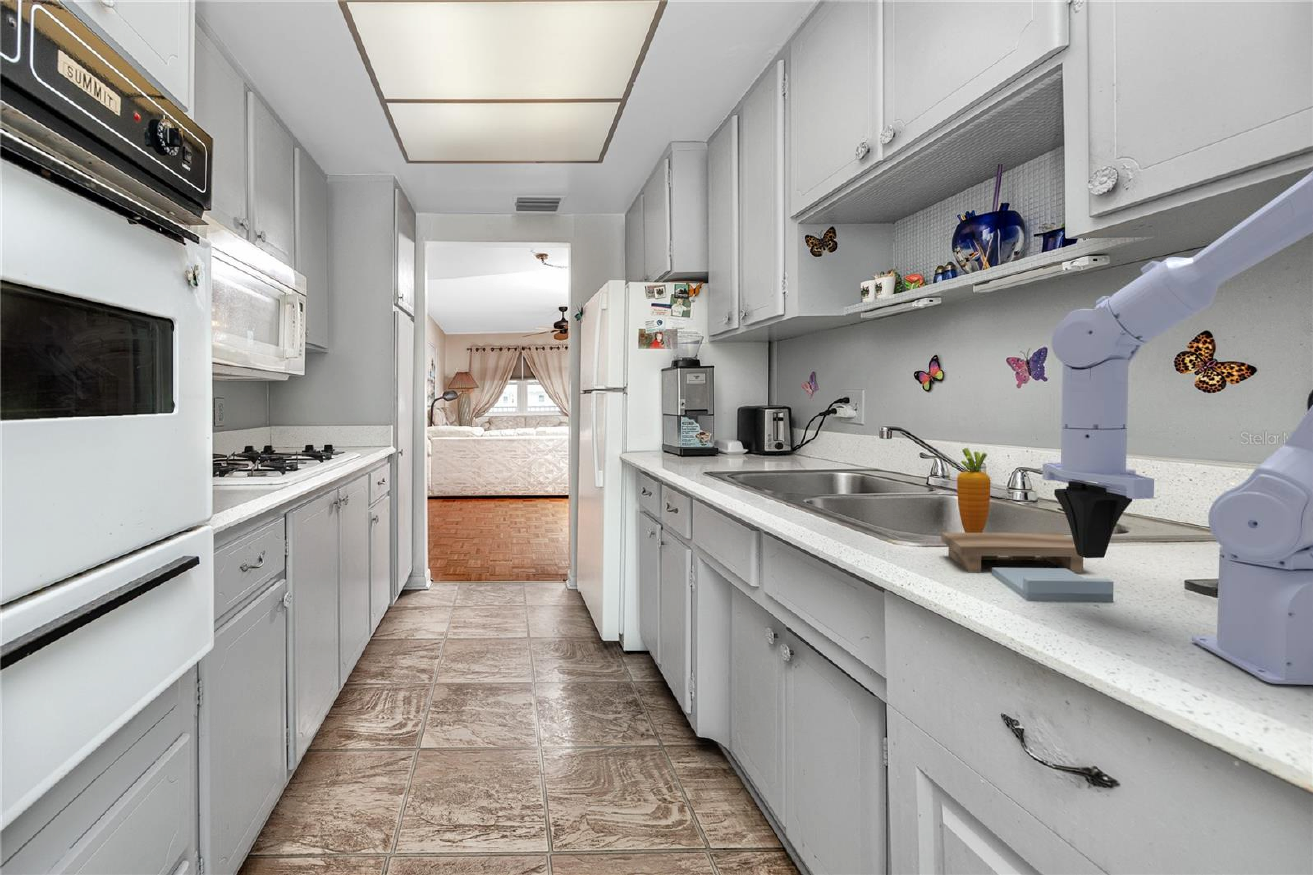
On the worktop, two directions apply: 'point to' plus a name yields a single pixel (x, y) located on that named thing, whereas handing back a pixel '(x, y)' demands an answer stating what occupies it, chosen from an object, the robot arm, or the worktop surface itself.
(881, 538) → the worktop surface
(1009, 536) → the bench
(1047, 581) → the light blue lipped plate
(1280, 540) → the robot arm
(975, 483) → the carrot
